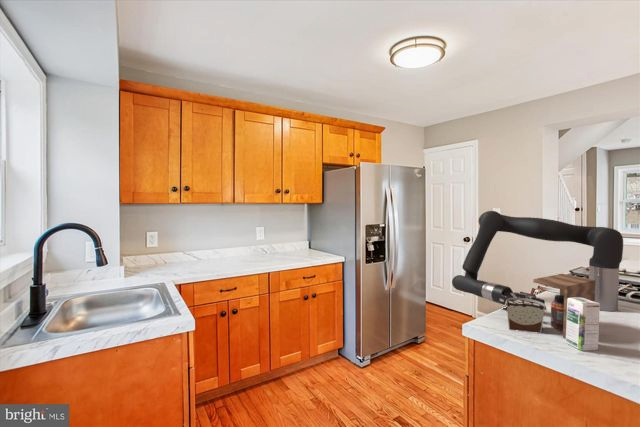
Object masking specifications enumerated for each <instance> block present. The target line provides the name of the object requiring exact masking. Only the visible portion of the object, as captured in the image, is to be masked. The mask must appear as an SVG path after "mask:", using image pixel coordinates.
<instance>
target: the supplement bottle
mask: <svg viewBox="0 0 640 427" xmlns="http://www.w3.org/2000/svg"><path fill="white" fill-rule="evenodd" d="M550 305H551V306H550V326H551V328H553V329H555V330H558V331H562V332H563V318H564V296H563V295H560V294H556V295H554V299H553V301H552V300H551V303H550Z"/></svg>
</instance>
